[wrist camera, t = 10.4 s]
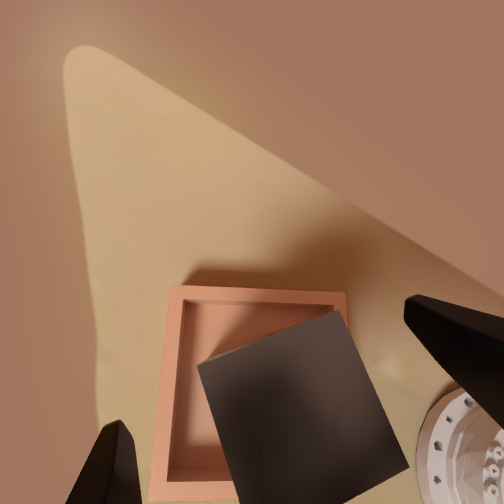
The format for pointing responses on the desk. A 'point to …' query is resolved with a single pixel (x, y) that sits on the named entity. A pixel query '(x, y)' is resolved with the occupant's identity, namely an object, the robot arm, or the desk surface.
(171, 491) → the terracotta bin
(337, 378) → the graphite square block
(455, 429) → the mechanical component
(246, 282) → the desk surface
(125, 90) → the desk surface
